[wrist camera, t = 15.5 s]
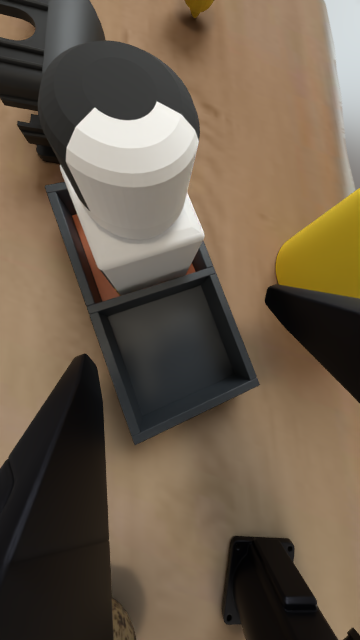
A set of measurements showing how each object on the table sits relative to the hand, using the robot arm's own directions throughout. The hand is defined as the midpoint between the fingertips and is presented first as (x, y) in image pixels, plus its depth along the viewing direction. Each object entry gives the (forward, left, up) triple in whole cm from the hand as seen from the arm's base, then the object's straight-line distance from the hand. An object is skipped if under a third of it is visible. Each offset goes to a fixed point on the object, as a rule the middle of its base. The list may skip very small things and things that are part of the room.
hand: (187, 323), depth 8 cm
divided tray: (+3, +2, -10) cm, 11 cm away
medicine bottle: (+7, +4, -10) cm, 13 cm away
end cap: (+20, +14, -10) cm, 26 cm away
